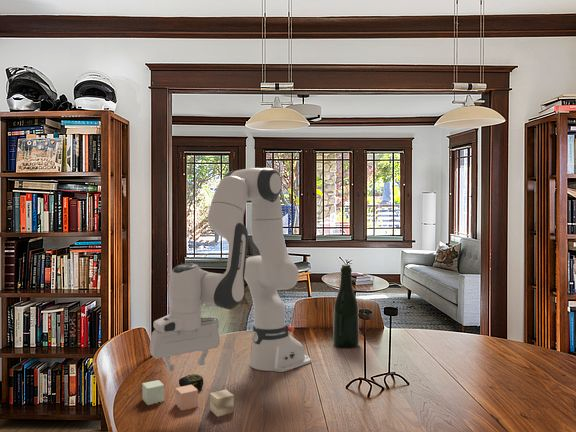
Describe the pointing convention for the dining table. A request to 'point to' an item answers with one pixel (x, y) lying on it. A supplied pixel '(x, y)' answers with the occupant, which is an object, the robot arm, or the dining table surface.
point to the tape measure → (192, 381)
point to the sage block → (153, 392)
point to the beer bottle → (346, 313)
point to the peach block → (186, 397)
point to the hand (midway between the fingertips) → (186, 367)
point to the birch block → (221, 402)
